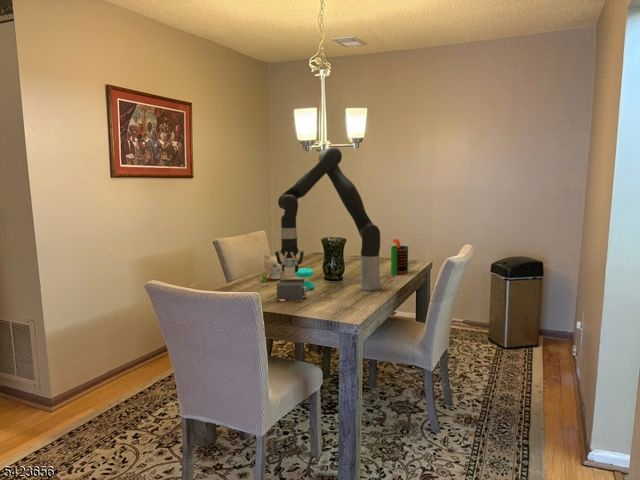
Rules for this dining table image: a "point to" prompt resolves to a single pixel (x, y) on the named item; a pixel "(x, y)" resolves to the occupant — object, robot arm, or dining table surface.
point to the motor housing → (291, 289)
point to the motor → (399, 259)
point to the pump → (289, 268)
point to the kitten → (272, 267)
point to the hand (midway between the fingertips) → (290, 272)
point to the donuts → (306, 273)
